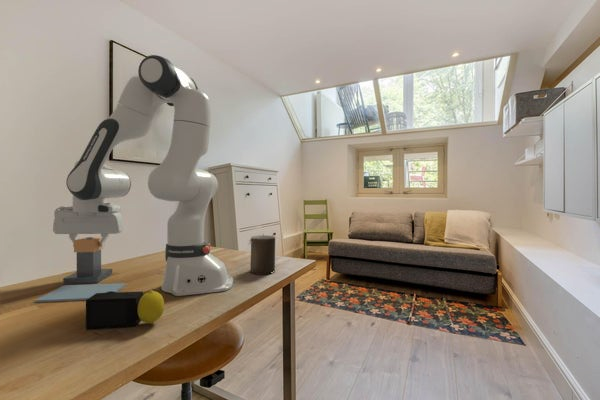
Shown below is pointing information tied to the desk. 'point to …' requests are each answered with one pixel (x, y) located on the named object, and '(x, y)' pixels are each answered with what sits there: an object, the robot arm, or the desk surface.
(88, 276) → the stand
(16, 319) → the desk surface
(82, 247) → the collar
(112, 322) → the black rectangular box
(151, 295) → the lemon
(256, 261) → the pillar candle
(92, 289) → the mat
